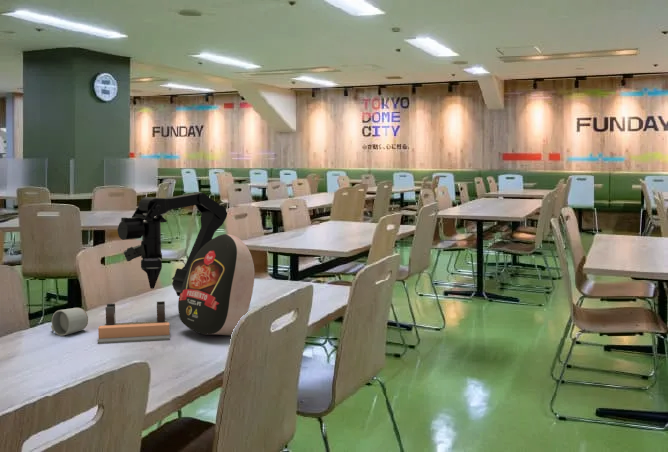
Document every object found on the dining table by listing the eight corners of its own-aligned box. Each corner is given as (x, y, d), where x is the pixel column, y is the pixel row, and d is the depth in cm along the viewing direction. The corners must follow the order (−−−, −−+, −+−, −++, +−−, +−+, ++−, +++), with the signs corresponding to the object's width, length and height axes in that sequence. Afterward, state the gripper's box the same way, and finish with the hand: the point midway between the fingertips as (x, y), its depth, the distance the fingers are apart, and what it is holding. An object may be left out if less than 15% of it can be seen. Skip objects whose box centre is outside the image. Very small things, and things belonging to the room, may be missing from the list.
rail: (169, 332, 207) (169, 322, 207) (169, 334, 204) (169, 324, 204) (99, 335, 202) (99, 325, 202) (98, 338, 199) (98, 328, 199)
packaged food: (168, 332, 209) (166, 234, 205) (219, 321, 223) (218, 229, 220) (214, 346, 194) (213, 241, 191) (265, 333, 209) (265, 235, 206)
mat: (169, 331, 210) (169, 329, 210) (169, 339, 201) (169, 337, 201) (100, 334, 206) (100, 332, 205) (97, 343, 196) (97, 341, 196)
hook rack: (167, 323, 219) (167, 300, 219) (167, 329, 213) (167, 305, 212) (105, 326, 215) (104, 303, 214) (103, 332, 208) (102, 308, 207)
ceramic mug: (90, 331, 210) (89, 306, 209) (69, 337, 202) (68, 311, 202) (65, 327, 214) (64, 303, 214) (44, 333, 207) (42, 308, 206)
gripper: (126, 234, 225) (127, 281, 226) (123, 241, 207) (124, 292, 208) (161, 233, 227) (162, 280, 229) (161, 240, 209) (162, 291, 211)
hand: (152, 285), depth 219 cm, fingers open, 9 cm apart
